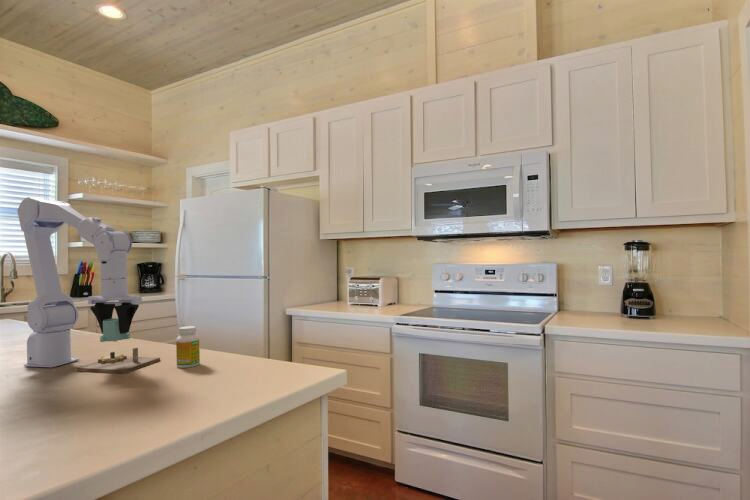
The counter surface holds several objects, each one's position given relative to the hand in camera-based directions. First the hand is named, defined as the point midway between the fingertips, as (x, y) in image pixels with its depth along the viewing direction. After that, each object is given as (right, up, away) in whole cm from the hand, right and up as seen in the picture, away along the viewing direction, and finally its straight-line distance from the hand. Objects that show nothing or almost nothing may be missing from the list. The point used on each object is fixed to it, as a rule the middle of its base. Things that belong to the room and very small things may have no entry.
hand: (115, 332), depth 106 cm
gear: (0, -2, 0) cm, 2 cm away
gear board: (0, -9, +3) cm, 9 cm away
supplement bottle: (+18, -9, +1) cm, 20 cm away
